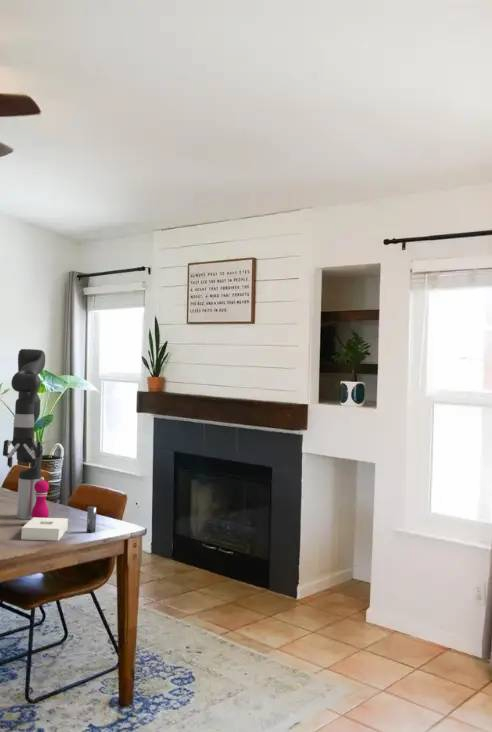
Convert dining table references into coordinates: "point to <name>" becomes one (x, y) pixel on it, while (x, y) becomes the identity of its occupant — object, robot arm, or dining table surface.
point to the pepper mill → (40, 499)
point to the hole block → (44, 529)
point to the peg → (91, 519)
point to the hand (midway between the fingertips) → (21, 467)
